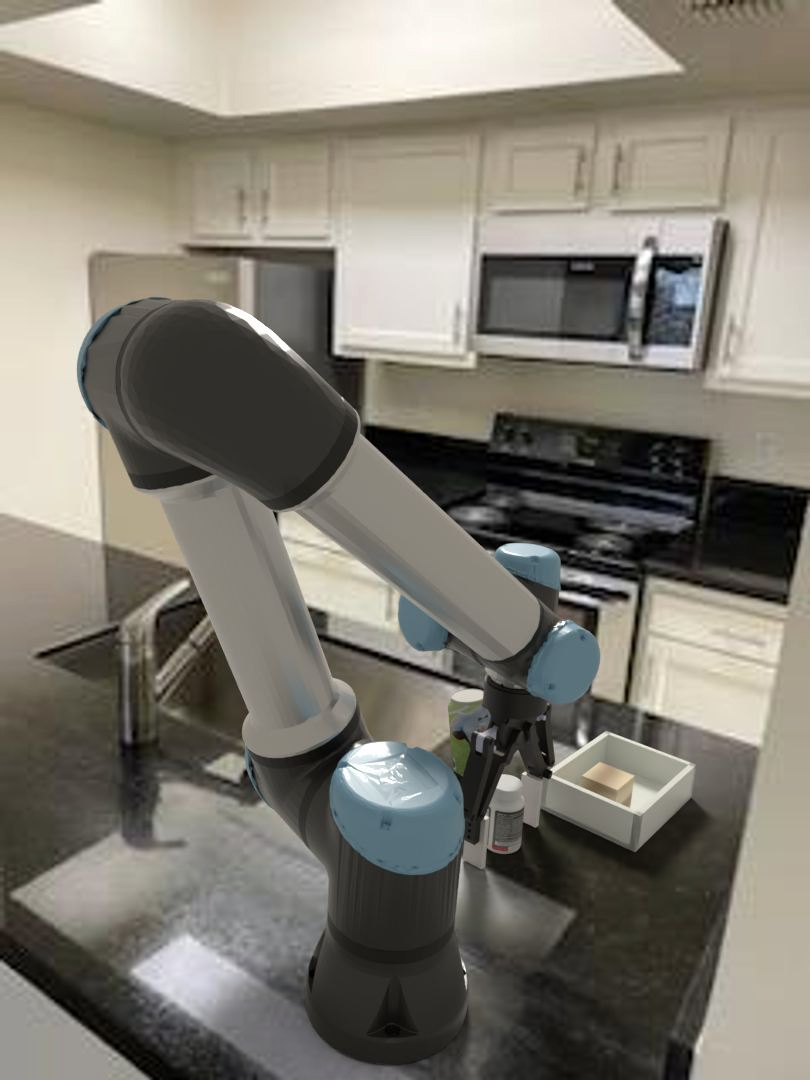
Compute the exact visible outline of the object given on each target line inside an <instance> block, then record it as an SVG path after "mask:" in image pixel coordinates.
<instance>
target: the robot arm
mask: <svg viewBox="0 0 810 1080" xmlns="http://www.w3.org/2000/svg"><path fill="white" fill-rule="evenodd" d="M76 378H77V379H76V381H77V384H78V389H79V393H80V395H81V397H82V400H83V402H84V404H85V405H86V406H85V407H86V408H87V410H88V412H90V414H91V415H92V416H93V417H92V418H94V419H95V420H96V421H97V422H98V423H99V424H100V425H101V426H102V427H103V428H104V429H106V430H108V432H109V434H110V436H111V439H112V441H113V443H114V446H115V448H116V450H117V453H118V455H119V457H120V459H121V462H122V464H123V467H124V468H125V471H126V472H127V476H128V477H129V480H130V483H131V484H132V487H133V488H134V490H136V491H138V492H140V493H142V494H145V495H147V496H151V497H152V498H155V499H158V501H159V502H160V504H161V507H162V509H163V512H164V515H165V516H166V519H167V520H168V524H169V525H170V528H171V531H172V533H173V535H174V537H175V540H176V542H177V545H178V547H179V549H180V551H181V555H182V557H183V558H184V561H185V563H186V565H187V568H188V570H189V573H190V575H191V578H192V581H193V583H194V585H195V587H196V589H197V592H198V594H199V596H200V599H201V602H202V604H203V606H204V608H205V610H206V613H207V615H208V617H209V620H210V622H211V625H212V627H213V630H214V632H215V634H216V637H217V639H218V641H219V644H220V646H221V648H222V652H223V653H224V655H225V656H224V657H225V658H226V662H227V663H228V666H229V668H230V671H231V673H232V675H233V677H234V679H235V682H236V685H237V687H238V690H239V691H240V694H241V696H242V699H243V701H244V703H245V706H246V708H247V711H248V714H247V715H246V717H245V719H244V721H243V723H242V729H241V736H242V740H243V743H244V745H245V746H244V747H245V748H244V761H245V767H246V771H247V774H248V776H249V778H250V781H251V784H252V787H254V789H255V791H256V793H257V794H258V796H259V797H260V798H261V799H262V801H263V802H264V803H265V804H266V805H267V806H268V807H269V808H271V810H273V811H274V812H276V814H277V815H278V816H279V818H281V819H282V821H284V823H285V824H286V825H287V826H288V827H289V828H290V830H291V831H292V832H293V833H294V834H295V835H296V836H297V837H298V838H299V839H300V841H302V843H303V844H304V845H305V846H306V848H307V849H308V850H309V851H310V852H311V853H312V855H314V856H315V858H316V859H317V860H318V861H319V862H320V864H321V865H323V867H324V869H325V870H326V874H327V878H328V888H327V889H328V890H327V911H326V912H327V914H326V916H327V917H326V921H325V925H324V927H323V929H322V932H321V934H320V937H319V939H318V941H317V944H316V946H315V948H314V951H313V952H312V953H313V954H312V956H311V958H310V961H309V962H308V966H307V971H306V976H305V994H304V996H305V998H304V999H305V1000H304V1001H305V1002H304V1003H305V1009H306V1013H307V1016H308V1018H309V1021H310V1023H311V1025H312V1027H313V1028H314V1030H315V1032H316V1033H317V1034H318V1035H319V1037H321V1038H322V1040H324V1041H325V1042H326V1043H327V1044H328V1045H329V1046H330V1047H332V1048H334V1050H336V1051H338V1052H340V1053H341V1054H344V1055H345V1056H348V1057H350V1058H353V1059H355V1060H358V1061H362V1062H365V1063H371V1064H376V1065H377V1064H378V1065H400V1064H401V1065H402V1064H409V1063H412V1062H417V1061H420V1060H424V1059H426V1058H428V1057H430V1056H432V1055H434V1054H435V1053H438V1052H439V1051H441V1050H442V1049H444V1048H445V1047H446V1046H448V1045H449V1043H451V1042H452V1041H453V1040H454V1039H455V1037H456V1036H457V1035H458V1033H459V1032H460V1030H461V1028H462V1026H463V1025H464V1022H465V1019H466V1017H467V1013H468V1012H467V1011H468V1010H467V1009H468V1001H469V989H470V988H469V977H468V973H467V969H466V966H465V962H464V960H463V958H462V956H461V953H460V949H459V947H460V946H459V943H458V937H457V934H456V930H455V927H456V925H455V924H456V914H457V905H458V903H457V902H458V894H459V884H460V883H459V882H460V875H461V866H462V865H461V862H462V861H463V860H464V861H465V862H466V863H469V864H470V865H472V866H474V867H476V868H478V869H479V870H483V869H484V868H485V867H486V861H487V860H486V859H487V849H488V848H487V840H488V828H489V817H488V816H486V812H487V810H488V807H489V805H490V802H491V800H492V797H493V795H494V792H495V790H496V787H497V785H498V782H499V780H500V777H501V775H502V774H503V772H504V769H505V767H507V766H509V765H510V764H511V762H512V760H513V757H514V755H515V754H516V752H519V755H520V758H521V760H522V762H523V765H524V767H525V769H526V771H524V772H522V773H521V779H520V780H521V781H522V783H523V791H522V796H523V798H524V801H525V806H524V817H523V824H524V823H525V824H527V825H529V826H531V827H532V828H534V829H535V828H537V827H539V823H540V814H541V813H540V812H541V809H540V805H541V796H542V786H543V777H544V778H546V779H548V780H549V779H550V778H551V777H552V773H553V772H552V771H551V770H550V769H549V768H553V767H555V764H556V756H555V750H554V749H555V747H554V738H553V732H552V722H551V717H552V709H553V707H552V704H554V705H559V706H560V705H568V704H571V703H573V702H577V700H579V699H580V698H581V697H582V696H584V695H585V694H586V692H588V690H589V689H590V686H592V682H593V681H594V680H595V679H596V678H597V675H598V672H599V668H600V663H601V648H600V646H599V642H598V640H597V639H596V637H595V636H594V634H593V633H591V631H589V630H587V629H585V628H584V627H582V626H580V625H578V624H577V623H576V622H575V621H574V620H572V619H564V618H563V617H562V616H559V615H558V612H557V611H558V605H559V598H560V597H559V596H560V591H561V589H562V588H561V571H562V570H561V569H562V568H561V563H562V562H561V557H560V556H559V554H558V552H556V551H555V550H553V549H551V548H548V547H546V546H543V545H540V544H539V545H538V544H534V543H533V544H532V543H525V542H523V543H522V542H521V543H520V542H516V543H515V542H514V543H513V542H512V543H505V544H503V545H501V546H499V547H498V548H496V551H495V553H494V557H493V556H492V555H491V554H490V553H489V552H488V551H487V550H486V549H485V548H484V547H483V546H482V545H480V544H479V542H477V541H476V540H475V539H474V538H473V537H472V536H471V535H470V534H469V533H468V532H467V531H466V530H465V529H464V528H462V527H461V525H459V524H458V523H457V522H456V521H455V520H454V519H453V518H452V517H450V515H449V514H447V513H446V512H445V511H444V510H443V509H442V508H441V507H440V506H439V505H438V504H437V503H436V502H435V501H433V500H432V499H431V498H430V497H429V496H428V495H427V493H425V492H423V490H422V489H421V488H420V487H418V486H417V485H416V484H415V482H413V480H411V479H410V478H408V476H407V475H406V474H404V473H403V472H402V471H401V470H400V469H399V468H398V467H397V466H396V465H395V464H394V463H393V462H391V460H389V458H387V456H385V455H384V454H383V453H382V452H381V451H379V449H378V448H377V447H375V446H374V445H373V444H372V443H371V442H370V441H369V440H368V439H367V438H366V437H365V436H364V435H362V433H361V425H362V423H361V419H360V418H361V417H360V415H359V413H358V411H357V410H356V409H355V408H354V407H353V406H352V405H351V404H350V403H349V402H348V401H347V400H346V399H345V398H344V397H343V396H341V394H339V393H338V392H337V390H335V389H334V388H333V387H332V386H331V385H330V384H329V383H328V382H327V381H326V380H325V379H324V378H323V377H322V376H321V375H320V374H319V373H317V371H316V370H315V369H313V367H311V366H310V364H308V363H307V362H306V361H305V360H304V359H303V358H302V356H301V355H299V354H298V353H297V352H296V351H294V349H292V347H290V345H288V344H287V343H286V342H285V341H283V340H282V338H280V336H278V335H277V334H276V333H275V332H274V331H273V330H272V329H270V328H269V327H267V326H266V325H264V324H263V323H262V322H261V321H259V320H258V319H257V318H255V317H254V316H252V315H251V314H250V313H247V312H245V311H243V310H242V309H239V308H237V307H235V306H233V305H231V304H229V303H227V302H221V301H218V300H212V299H204V298H203V299H201V298H200V299H198V298H194V299H193V298H192V299H173V298H169V297H168V298H167V297H163V296H149V297H146V298H142V299H138V300H137V299H136V300H131V301H129V302H127V303H124V304H121V305H118V306H116V307H114V308H112V309H110V310H109V311H107V312H106V313H104V314H103V315H102V316H100V317H99V318H98V319H97V320H96V321H95V322H94V323H93V324H92V325H91V327H90V328H89V330H88V331H87V333H86V334H85V337H84V339H83V341H82V343H81V346H80V348H79V351H78V356H77V360H76ZM288 512H295V513H297V514H298V515H299V516H300V517H302V518H303V519H304V520H305V521H307V522H308V523H309V524H310V525H312V526H313V527H314V528H315V529H317V530H318V531H319V532H321V533H322V534H324V535H325V537H327V538H329V540H331V541H333V543H335V544H336V545H337V546H339V547H340V548H341V549H343V550H344V551H345V552H347V553H348V554H349V555H350V556H352V557H353V558H354V559H356V560H357V561H358V562H359V563H361V565H364V566H365V567H366V568H367V569H368V570H370V571H371V572H372V573H374V574H375V576H377V577H378V578H379V579H381V580H383V582H385V583H386V584H387V585H388V586H389V587H391V588H393V589H394V590H395V591H396V592H398V593H399V594H400V595H399V599H398V603H397V605H398V609H397V611H398V612H397V619H398V624H399V628H400V631H401V634H402V636H403V638H404V639H405V641H406V642H407V644H409V646H410V647H411V648H413V649H414V650H416V651H419V652H432V651H435V652H440V651H442V650H444V649H452V650H454V651H456V652H457V653H459V654H461V655H463V656H464V657H466V658H468V659H470V660H471V661H473V662H475V663H476V664H479V665H480V666H483V667H484V670H485V672H486V674H485V675H484V680H483V681H484V682H483V691H484V692H483V703H484V705H485V707H486V708H487V710H488V711H489V713H490V716H491V717H490V721H489V724H488V727H487V730H486V731H485V732H483V733H480V732H478V731H474V732H473V733H472V735H471V743H470V752H469V756H468V759H467V763H466V767H465V770H464V774H463V776H461V777H462V778H461V781H459V779H458V778H457V776H456V773H455V771H454V770H452V769H451V768H450V766H449V765H448V764H447V763H446V762H445V761H444V760H443V759H441V758H440V757H438V756H437V755H436V754H434V753H432V752H431V751H428V750H427V749H424V748H422V747H420V746H414V747H413V748H412V747H411V748H410V747H408V746H407V743H406V742H400V741H399V742H398V741H390V740H389V741H386V740H383V741H376V740H375V739H374V738H373V737H372V736H371V734H370V731H369V730H368V728H367V725H366V722H365V720H364V719H365V718H364V717H363V714H362V710H361V708H360V705H359V702H358V699H357V697H356V694H355V692H354V690H353V688H352V686H350V685H349V684H348V683H346V682H345V681H343V680H342V679H338V678H336V677H335V678H334V677H333V676H332V673H331V670H330V668H329V665H328V661H327V658H326V655H325V653H324V651H323V648H322V646H321V645H322V644H321V642H320V640H319V636H318V635H317V632H316V631H317V630H316V627H315V625H314V622H313V620H312V616H311V614H310V611H309V608H308V606H307V603H306V600H305V598H304V595H303V592H302V589H301V586H300V584H299V581H298V579H297V575H296V572H295V569H294V567H293V564H292V562H291V559H290V556H289V554H288V550H287V547H286V545H285V542H284V539H283V536H282V534H281V531H280V528H279V525H278V522H277V520H276V517H275V514H274V513H280V514H283V513H288ZM494 751H496V752H498V753H501V754H503V755H500V754H497V753H494ZM527 771H528V772H527ZM463 841H464V842H463Z"/></svg>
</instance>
